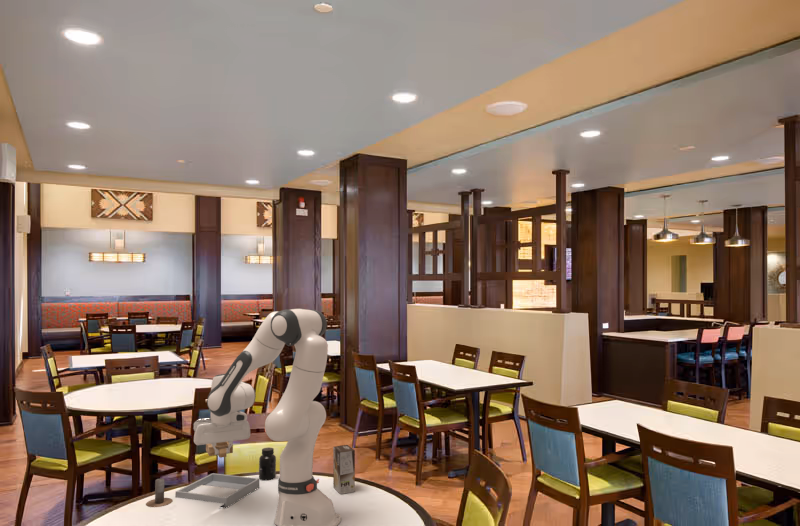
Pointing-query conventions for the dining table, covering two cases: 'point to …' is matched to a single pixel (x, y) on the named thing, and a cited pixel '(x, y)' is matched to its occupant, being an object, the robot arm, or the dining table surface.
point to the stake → (159, 495)
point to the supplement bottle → (267, 464)
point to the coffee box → (344, 469)
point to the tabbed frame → (221, 447)
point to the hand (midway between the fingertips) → (222, 453)
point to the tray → (224, 481)
